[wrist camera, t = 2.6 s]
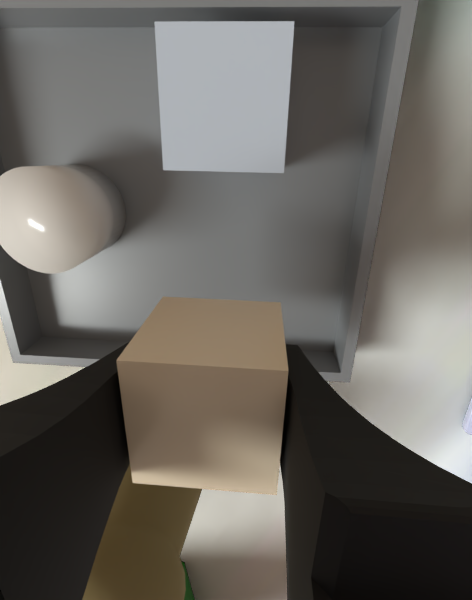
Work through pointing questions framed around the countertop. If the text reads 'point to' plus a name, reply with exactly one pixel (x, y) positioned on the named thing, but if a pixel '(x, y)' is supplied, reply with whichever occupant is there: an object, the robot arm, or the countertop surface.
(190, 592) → the milk carton
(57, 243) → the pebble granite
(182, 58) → the light gray rectangular block
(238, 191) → the tray
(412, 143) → the countertop surface
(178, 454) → the tan rectangular block
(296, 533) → the robot arm
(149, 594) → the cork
